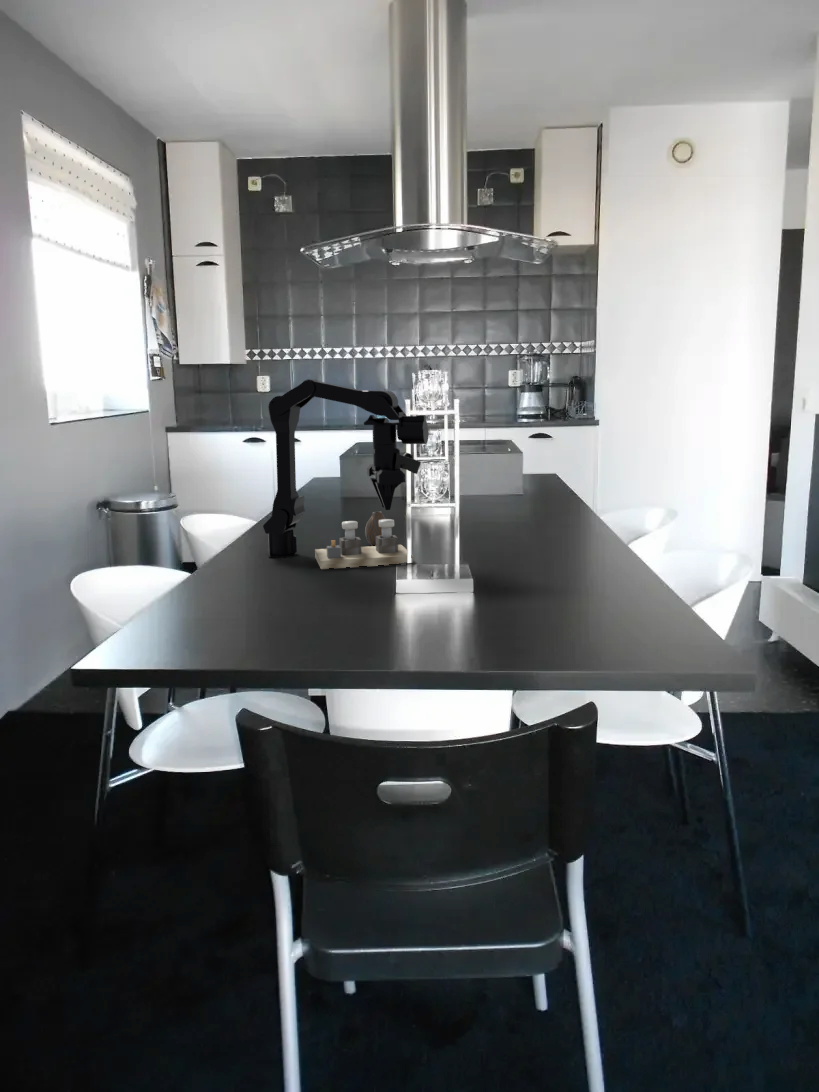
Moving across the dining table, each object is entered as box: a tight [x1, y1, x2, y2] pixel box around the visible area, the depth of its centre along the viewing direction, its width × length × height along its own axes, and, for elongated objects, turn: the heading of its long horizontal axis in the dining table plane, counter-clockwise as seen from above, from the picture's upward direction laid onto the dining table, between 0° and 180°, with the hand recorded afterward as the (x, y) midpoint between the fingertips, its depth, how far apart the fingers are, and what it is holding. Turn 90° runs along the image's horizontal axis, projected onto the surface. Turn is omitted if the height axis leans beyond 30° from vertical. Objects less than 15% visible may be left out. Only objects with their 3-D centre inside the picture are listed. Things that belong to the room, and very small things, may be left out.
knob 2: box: [379, 518, 395, 538], centre depth 202 cm, size 4×4×5 cm
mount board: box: [314, 534, 414, 570], centre depth 201 cm, size 22×14×6 cm, turn 102°
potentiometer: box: [326, 539, 341, 559], centre depth 196 cm, size 3×3×4 cm
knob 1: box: [341, 520, 359, 540], centre depth 200 cm, size 4×4×5 cm
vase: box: [364, 511, 387, 546], centre depth 221 cm, size 7×7×9 cm
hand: (386, 508), depth 201 cm, fingers open, 4 cm apart
